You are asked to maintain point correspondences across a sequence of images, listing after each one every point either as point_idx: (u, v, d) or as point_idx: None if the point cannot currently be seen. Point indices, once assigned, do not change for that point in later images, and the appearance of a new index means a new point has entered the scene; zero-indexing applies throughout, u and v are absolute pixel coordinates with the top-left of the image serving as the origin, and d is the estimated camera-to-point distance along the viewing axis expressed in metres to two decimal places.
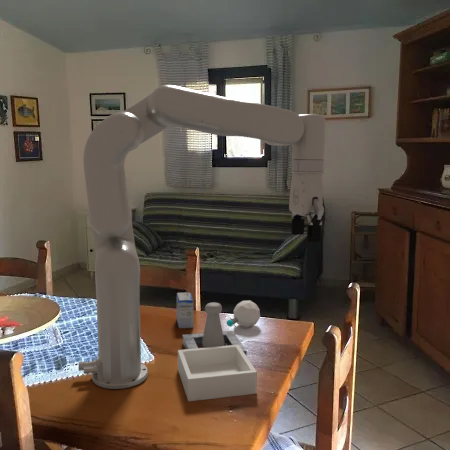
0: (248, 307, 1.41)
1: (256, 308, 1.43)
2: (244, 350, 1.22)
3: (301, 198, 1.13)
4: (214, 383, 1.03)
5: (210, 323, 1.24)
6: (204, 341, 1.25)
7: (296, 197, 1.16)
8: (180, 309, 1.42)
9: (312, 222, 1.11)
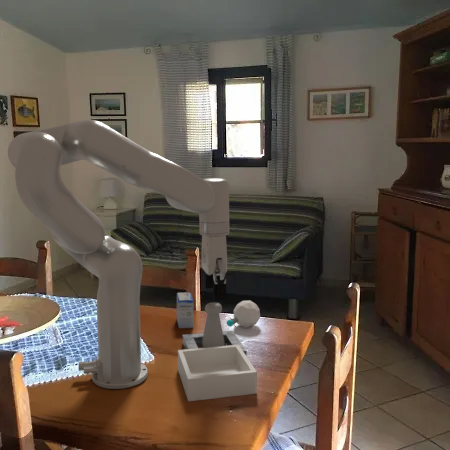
0: (248, 307, 1.41)
1: (256, 308, 1.43)
2: (244, 350, 1.22)
3: (207, 258, 1.19)
4: (214, 383, 1.03)
5: (210, 323, 1.24)
6: (204, 341, 1.25)
7: (204, 256, 1.22)
8: (180, 309, 1.42)
9: (216, 282, 1.18)
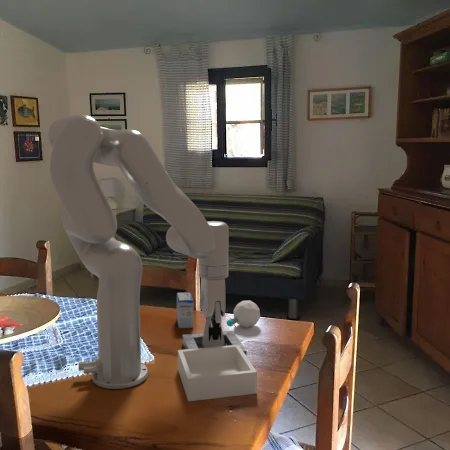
0: (248, 307, 1.41)
1: (256, 308, 1.43)
2: (244, 350, 1.22)
3: (205, 301, 1.21)
4: (214, 383, 1.03)
5: None
6: (204, 341, 1.25)
7: (203, 298, 1.24)
8: (180, 309, 1.42)
9: (212, 327, 1.22)
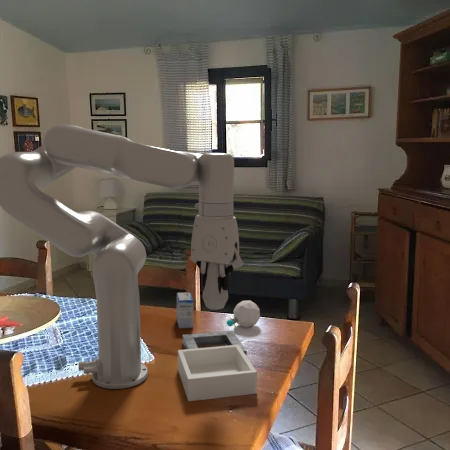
0: (248, 307, 1.41)
1: (256, 308, 1.43)
2: (244, 350, 1.22)
3: (222, 245, 1.03)
4: (214, 383, 1.03)
5: (218, 272, 1.06)
6: (213, 295, 1.06)
7: (210, 244, 1.04)
8: (180, 309, 1.42)
9: (225, 275, 1.05)
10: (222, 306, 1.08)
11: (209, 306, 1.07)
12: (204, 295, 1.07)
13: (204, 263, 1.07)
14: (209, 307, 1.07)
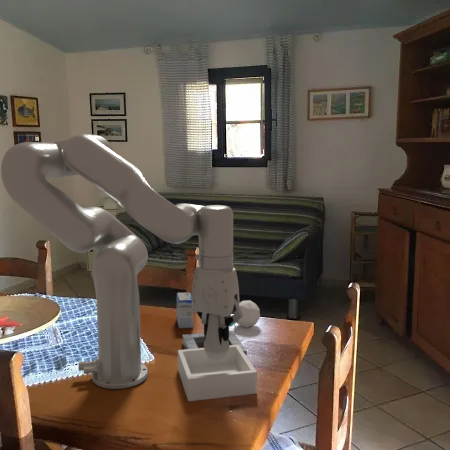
0: (248, 307, 1.41)
1: (256, 308, 1.43)
2: (244, 350, 1.22)
3: (222, 298, 1.04)
4: (214, 383, 1.03)
5: (219, 323, 1.07)
6: (213, 346, 1.07)
7: (210, 296, 1.05)
8: (180, 309, 1.42)
9: (225, 326, 1.06)
10: (223, 356, 1.08)
11: (210, 356, 1.08)
12: (205, 345, 1.08)
13: (205, 314, 1.08)
14: (210, 357, 1.08)
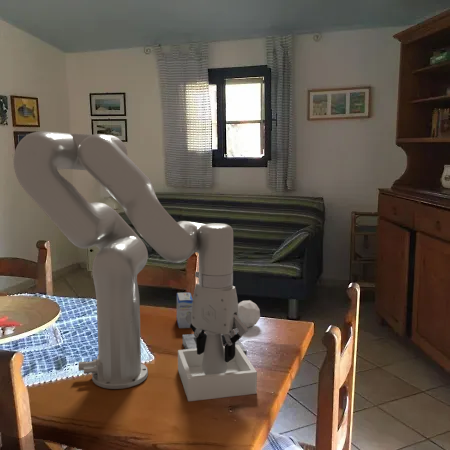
0: (248, 307, 1.41)
1: (256, 308, 1.43)
2: (244, 350, 1.22)
3: (221, 316, 1.04)
4: (214, 383, 1.03)
5: (217, 345, 1.08)
6: (211, 368, 1.08)
7: (210, 314, 1.06)
8: (180, 309, 1.42)
9: (232, 343, 1.06)
10: None
11: None
12: (203, 366, 1.09)
13: (199, 328, 1.09)
14: None
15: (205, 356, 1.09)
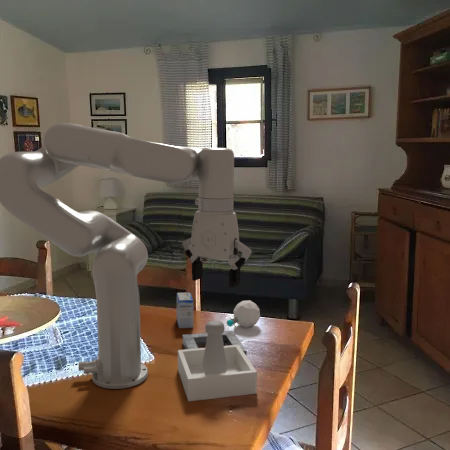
0: (248, 307, 1.41)
1: (256, 308, 1.43)
2: (244, 350, 1.22)
3: (221, 241, 1.02)
4: (214, 383, 1.03)
5: (217, 344, 1.08)
6: (212, 368, 1.08)
7: (210, 240, 1.03)
8: (180, 309, 1.42)
9: (237, 266, 1.02)
10: None
11: None
12: (203, 366, 1.09)
13: None
14: None
15: (205, 356, 1.09)
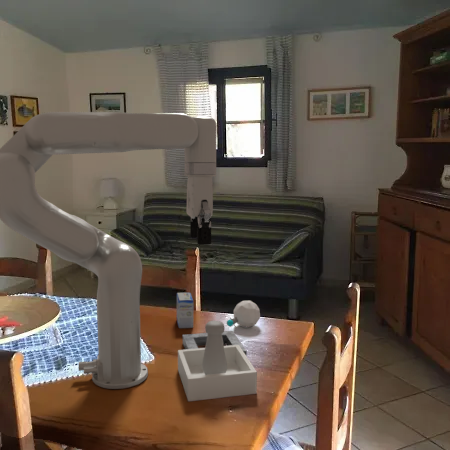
0: (248, 307, 1.41)
1: (256, 308, 1.43)
2: (244, 350, 1.22)
3: (191, 201, 1.13)
4: (214, 383, 1.03)
5: (217, 344, 1.08)
6: (212, 368, 1.08)
7: (189, 200, 1.16)
8: (180, 309, 1.42)
9: (201, 225, 1.11)
10: None
11: None
12: (203, 366, 1.09)
13: None
14: None
15: (205, 356, 1.09)
